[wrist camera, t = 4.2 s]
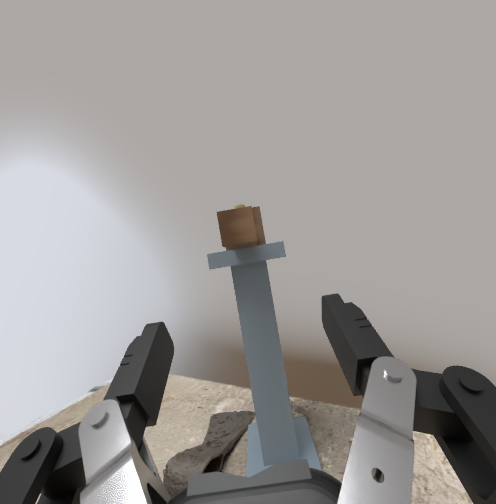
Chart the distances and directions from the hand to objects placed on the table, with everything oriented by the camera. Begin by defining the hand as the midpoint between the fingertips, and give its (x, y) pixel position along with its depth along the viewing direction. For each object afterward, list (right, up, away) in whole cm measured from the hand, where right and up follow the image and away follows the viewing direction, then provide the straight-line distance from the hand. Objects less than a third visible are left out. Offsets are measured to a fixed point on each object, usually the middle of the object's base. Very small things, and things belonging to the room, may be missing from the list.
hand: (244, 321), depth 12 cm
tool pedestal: (+5, -28, +24) cm, 37 cm away
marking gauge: (0, +4, +19) cm, 19 cm away
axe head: (-5, -30, +28) cm, 42 cm away
